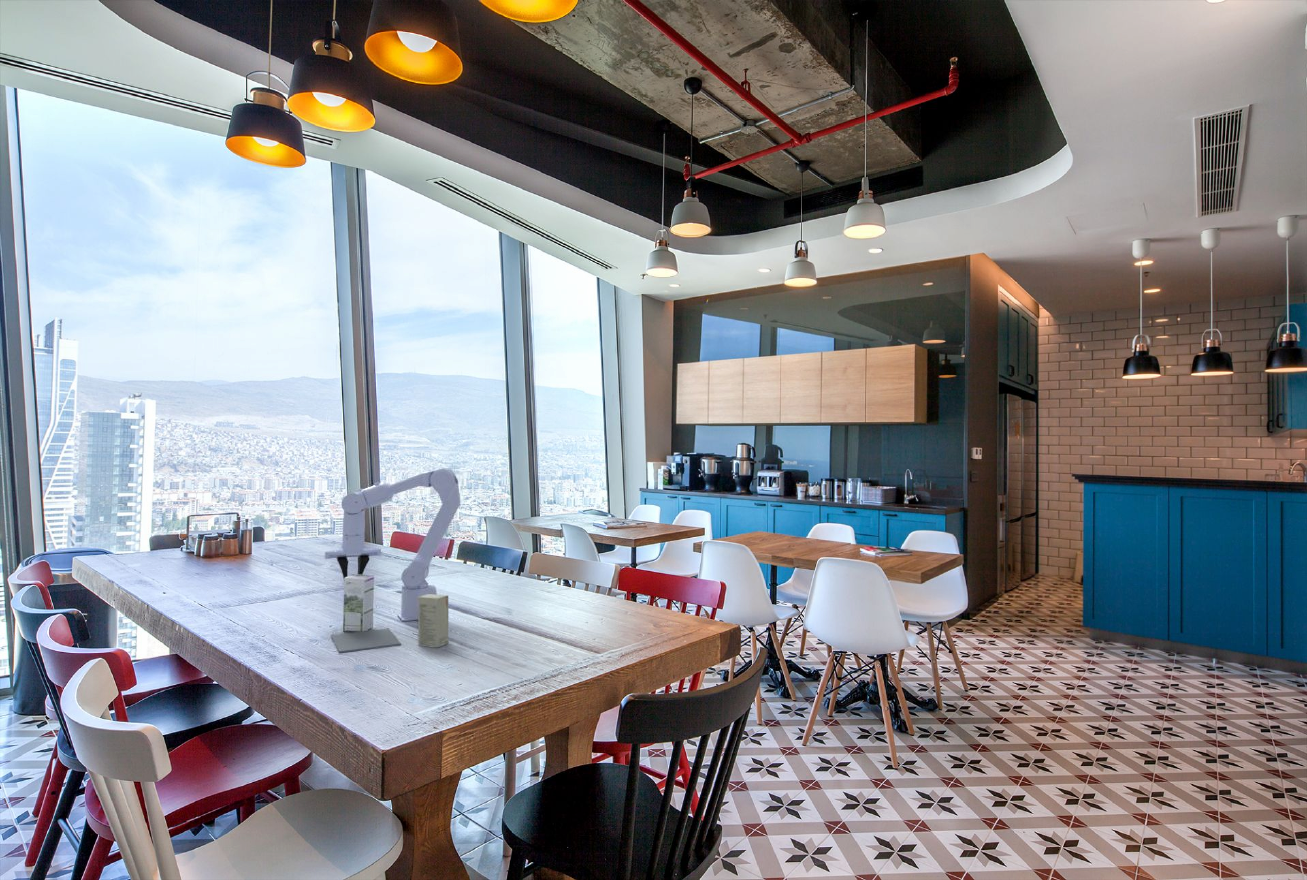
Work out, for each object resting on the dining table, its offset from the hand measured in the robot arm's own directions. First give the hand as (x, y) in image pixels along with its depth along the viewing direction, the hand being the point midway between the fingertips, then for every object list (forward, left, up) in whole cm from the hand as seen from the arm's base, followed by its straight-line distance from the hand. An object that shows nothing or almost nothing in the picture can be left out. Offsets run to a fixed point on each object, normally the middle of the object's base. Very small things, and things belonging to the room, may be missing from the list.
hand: (352, 582), depth 188 cm
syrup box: (0, +13, -11) cm, 17 cm away
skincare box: (-14, +36, -11) cm, 40 cm away
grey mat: (0, +25, -10) cm, 27 cm away
